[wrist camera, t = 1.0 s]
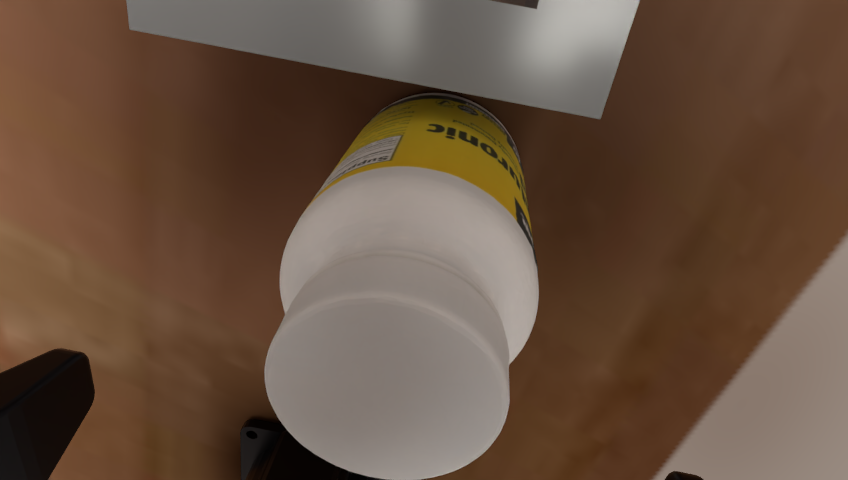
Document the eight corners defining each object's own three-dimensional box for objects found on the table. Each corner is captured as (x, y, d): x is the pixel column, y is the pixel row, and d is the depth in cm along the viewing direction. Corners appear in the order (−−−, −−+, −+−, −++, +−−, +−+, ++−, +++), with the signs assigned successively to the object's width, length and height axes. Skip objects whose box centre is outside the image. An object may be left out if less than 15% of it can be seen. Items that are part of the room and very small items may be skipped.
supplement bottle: (555, 197, 17) (619, 452, 9) (417, 272, 19) (356, 541, 10) (460, 48, 15) (421, 185, 7) (318, 149, 17) (147, 355, 9)
